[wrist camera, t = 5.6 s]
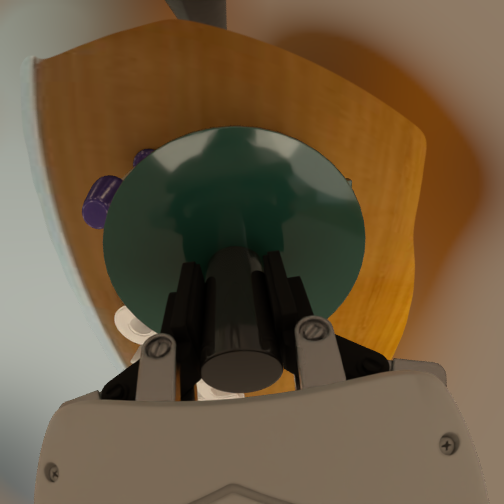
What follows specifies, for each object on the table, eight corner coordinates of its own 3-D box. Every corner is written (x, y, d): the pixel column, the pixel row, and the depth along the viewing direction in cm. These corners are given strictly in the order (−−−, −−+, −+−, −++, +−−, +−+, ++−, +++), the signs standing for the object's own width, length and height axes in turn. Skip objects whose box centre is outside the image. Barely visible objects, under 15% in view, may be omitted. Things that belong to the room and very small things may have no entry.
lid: (78, 158, 11) (-20, 225, 5) (362, 116, 11) (473, 152, 5) (154, 348, 18) (140, 438, 12) (344, 324, 18) (379, 410, 12)
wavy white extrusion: (247, 379, 62) (251, 416, 53) (183, 386, 62) (181, 421, 53) (207, 262, 44) (202, 307, 35) (118, 279, 44) (98, 321, 35)
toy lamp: (156, 185, 36) (114, 244, 22) (127, 175, 35) (71, 229, 21) (166, 153, 34) (124, 196, 20) (136, 144, 33) (77, 180, 19)
